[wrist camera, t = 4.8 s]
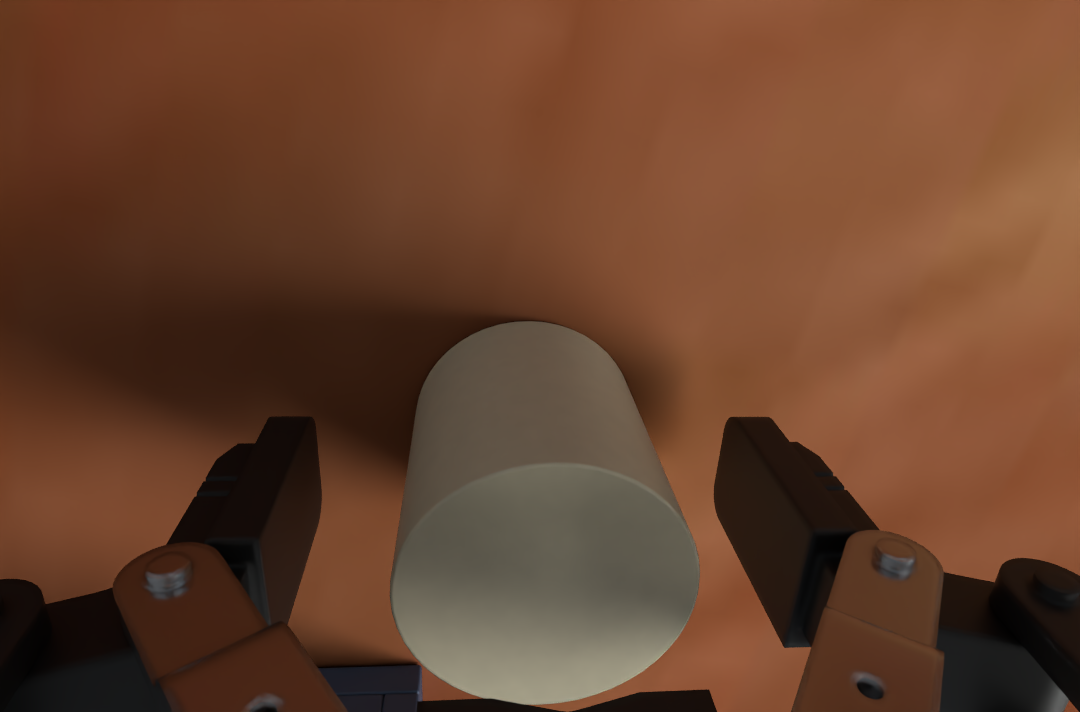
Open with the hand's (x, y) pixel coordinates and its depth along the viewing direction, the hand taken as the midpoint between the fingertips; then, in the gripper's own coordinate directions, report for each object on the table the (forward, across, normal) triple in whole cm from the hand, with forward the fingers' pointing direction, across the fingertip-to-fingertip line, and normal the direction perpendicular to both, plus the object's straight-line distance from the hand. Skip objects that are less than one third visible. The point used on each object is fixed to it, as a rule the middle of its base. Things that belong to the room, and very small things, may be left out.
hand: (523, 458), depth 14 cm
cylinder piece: (+1, 0, 0) cm, 1 cm away
